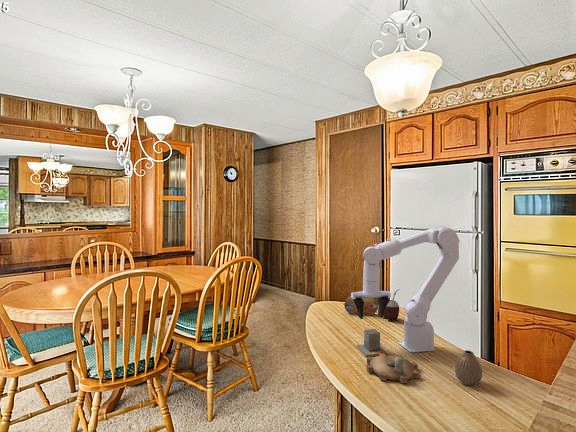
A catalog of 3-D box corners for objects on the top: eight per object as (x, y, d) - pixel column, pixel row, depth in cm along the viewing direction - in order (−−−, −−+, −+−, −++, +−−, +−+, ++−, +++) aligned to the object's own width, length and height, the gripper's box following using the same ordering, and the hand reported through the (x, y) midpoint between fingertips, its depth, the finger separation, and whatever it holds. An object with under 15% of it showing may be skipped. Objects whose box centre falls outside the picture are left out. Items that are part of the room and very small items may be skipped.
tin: (344, 314, 155) (344, 295, 155) (344, 311, 158) (344, 294, 158) (377, 316, 153) (378, 297, 152) (377, 313, 156) (377, 295, 156)
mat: (377, 345, 121) (377, 343, 121) (388, 354, 113) (388, 352, 113) (356, 346, 119) (356, 344, 119) (366, 356, 111) (366, 354, 111)
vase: (481, 391, 91) (482, 359, 91) (453, 384, 95) (453, 353, 94) (482, 380, 97) (483, 350, 97) (455, 373, 101) (456, 344, 100)
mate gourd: (384, 315, 153) (385, 283, 152) (402, 319, 149) (403, 285, 148) (380, 320, 146) (380, 286, 146) (398, 324, 142) (399, 288, 142)
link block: (374, 345, 119) (374, 329, 118) (379, 350, 115) (380, 333, 114) (364, 346, 118) (364, 329, 118) (368, 351, 114) (369, 334, 114)
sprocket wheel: (404, 356, 111) (404, 340, 111) (430, 381, 96) (430, 362, 95) (358, 359, 109) (358, 342, 109) (377, 384, 93) (378, 365, 93)
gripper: (384, 277, 127) (384, 313, 127) (348, 278, 124) (347, 315, 124) (394, 281, 120) (393, 319, 120) (355, 282, 117) (354, 321, 118)
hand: (370, 317), depth 122 cm, fingers open, 7 cm apart
